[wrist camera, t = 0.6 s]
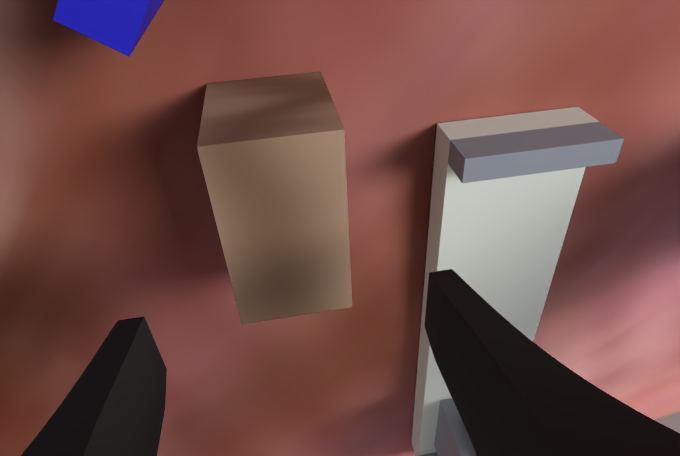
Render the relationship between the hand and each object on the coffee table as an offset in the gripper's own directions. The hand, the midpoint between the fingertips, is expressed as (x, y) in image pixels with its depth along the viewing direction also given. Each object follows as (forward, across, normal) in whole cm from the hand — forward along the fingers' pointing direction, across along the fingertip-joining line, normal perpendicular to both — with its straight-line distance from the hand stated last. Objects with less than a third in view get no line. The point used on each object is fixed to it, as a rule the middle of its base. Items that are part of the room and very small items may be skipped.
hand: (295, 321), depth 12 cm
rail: (+8, -10, +11) cm, 17 cm away
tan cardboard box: (+8, 0, 0) cm, 9 cm away
